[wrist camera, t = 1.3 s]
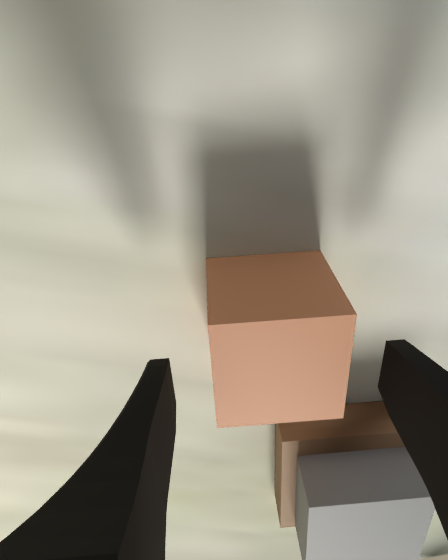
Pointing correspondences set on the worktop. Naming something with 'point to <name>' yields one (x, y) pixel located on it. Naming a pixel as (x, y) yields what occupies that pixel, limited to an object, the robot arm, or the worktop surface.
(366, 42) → the worktop surface
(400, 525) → the grey slab
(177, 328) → the worktop surface
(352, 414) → the walnut slab
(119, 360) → the worktop surface
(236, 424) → the terracotta cube
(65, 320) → the worktop surface
